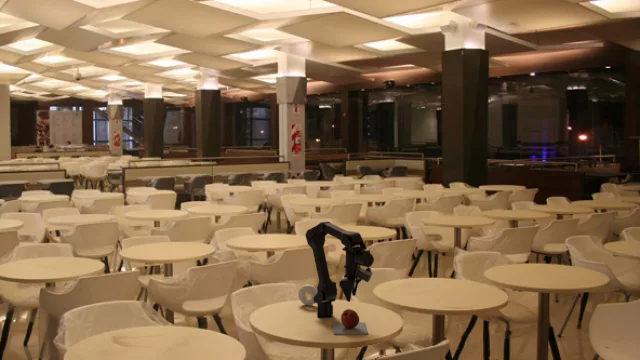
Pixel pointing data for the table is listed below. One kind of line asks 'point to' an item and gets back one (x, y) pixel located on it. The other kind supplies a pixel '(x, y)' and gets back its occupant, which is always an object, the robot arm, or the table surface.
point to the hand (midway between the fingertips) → (351, 298)
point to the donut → (303, 298)
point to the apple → (349, 318)
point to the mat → (342, 330)
